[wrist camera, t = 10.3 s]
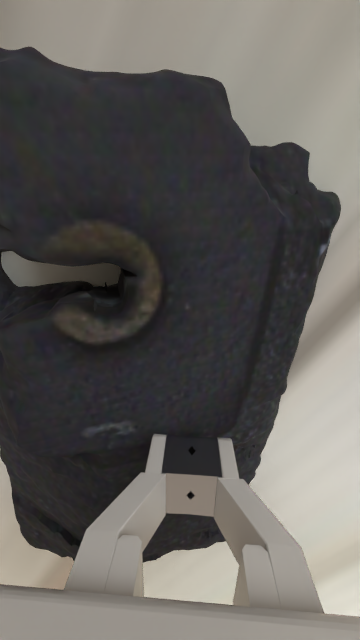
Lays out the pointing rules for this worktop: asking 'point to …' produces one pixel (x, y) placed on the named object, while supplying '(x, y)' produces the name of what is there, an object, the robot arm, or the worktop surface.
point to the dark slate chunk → (142, 286)
